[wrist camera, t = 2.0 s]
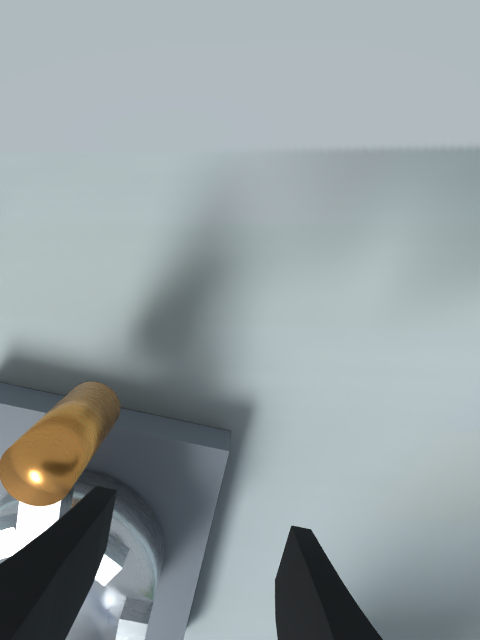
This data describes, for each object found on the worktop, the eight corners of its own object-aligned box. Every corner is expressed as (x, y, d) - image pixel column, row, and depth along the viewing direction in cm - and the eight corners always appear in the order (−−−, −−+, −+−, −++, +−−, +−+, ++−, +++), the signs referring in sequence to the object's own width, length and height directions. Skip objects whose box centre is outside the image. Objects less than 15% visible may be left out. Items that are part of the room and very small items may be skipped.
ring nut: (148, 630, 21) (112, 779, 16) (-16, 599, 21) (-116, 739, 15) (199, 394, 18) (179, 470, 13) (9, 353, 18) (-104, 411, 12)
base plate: (230, 431, 21) (229, 451, 19) (181, 632, 24) (176, 667, 22) (-10, 380, 21) (-36, 395, 19) (-29, 592, 24) (-54, 624, 22)
